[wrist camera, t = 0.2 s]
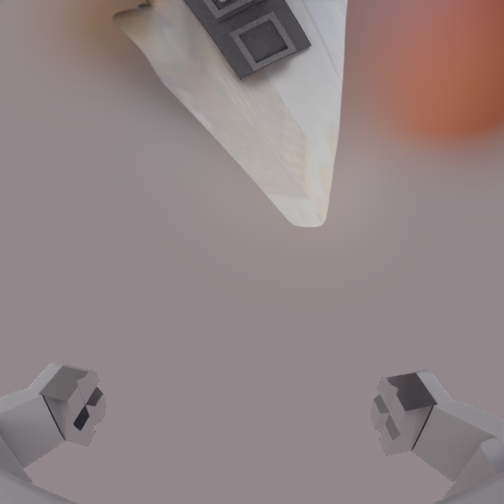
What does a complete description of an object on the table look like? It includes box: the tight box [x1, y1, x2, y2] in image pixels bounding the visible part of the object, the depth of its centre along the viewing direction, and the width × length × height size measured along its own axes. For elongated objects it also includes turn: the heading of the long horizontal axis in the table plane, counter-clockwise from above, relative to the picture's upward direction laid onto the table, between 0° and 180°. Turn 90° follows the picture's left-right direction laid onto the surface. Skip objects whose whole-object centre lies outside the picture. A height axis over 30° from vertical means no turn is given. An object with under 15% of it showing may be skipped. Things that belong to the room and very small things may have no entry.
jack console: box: [185, 0, 311, 80], centre depth 38 cm, size 20×14×8 cm
